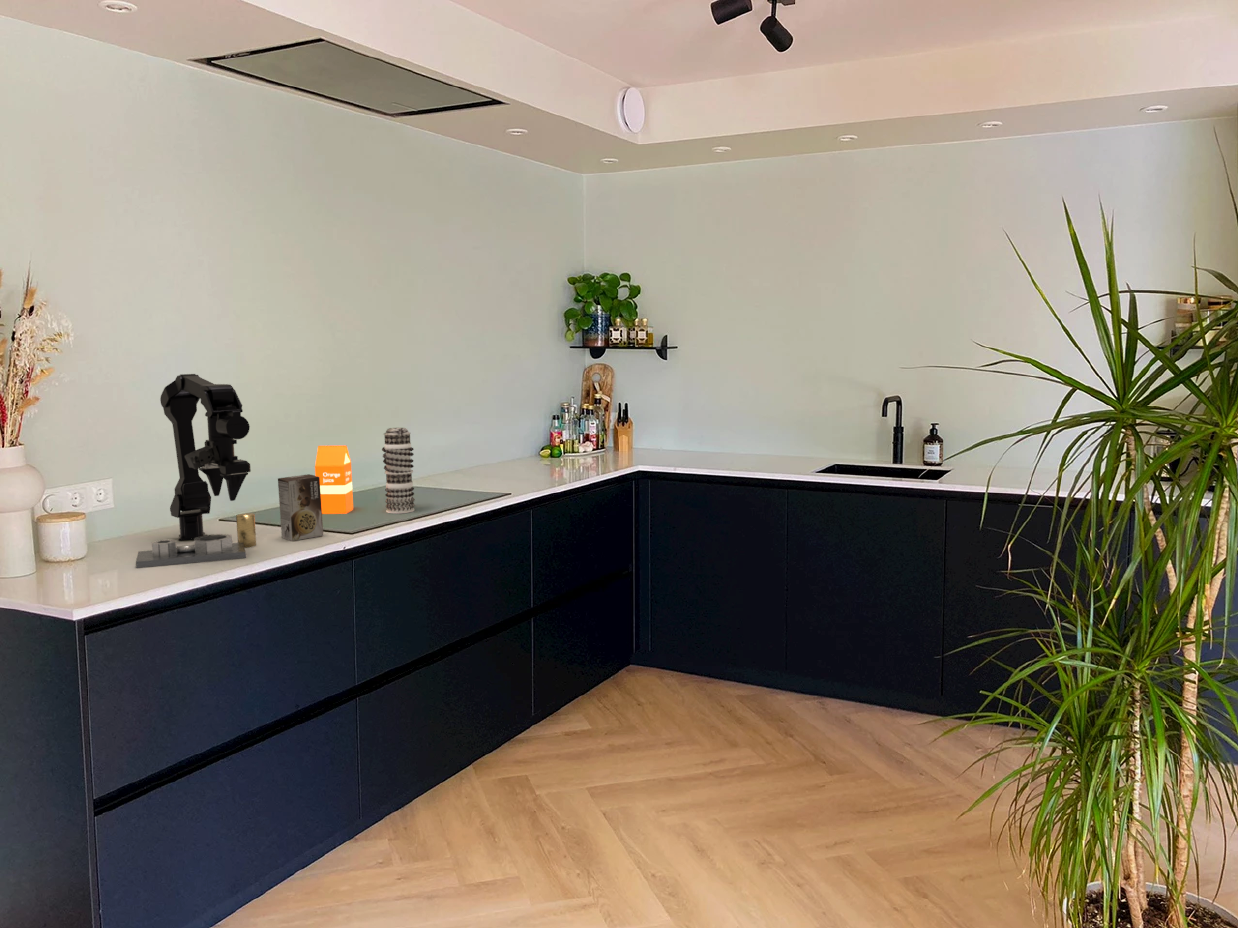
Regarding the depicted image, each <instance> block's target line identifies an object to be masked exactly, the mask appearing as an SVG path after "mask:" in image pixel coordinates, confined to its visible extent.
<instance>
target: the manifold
mask: <svg viewBox="0 0 1238 928" xmlns="http://www.w3.org/2000/svg"><path fill="white" fill-rule="evenodd" d="M246 555H247V553H246V547H244V543H243V542H242V543H238V542H233V537H232V534H226V533H225V534H224V533H216V534H214V533H213V534H205V535H204V536H200V537H196V538H195V539H194V544H189V545H187V544H186V545H178V546H177V541H176V539H169V538H167V539H160V540H158V539H157V540H154V541H152V542H151V550H139V551H138V552H137V555H136V560H135V565H136V566H135V567H136V569H140V568H152V567H162V566H173V565H174V566H176V565H184V564H185V565H186V564H197V563H206V562H217V561H226V560H239V559H247V556H246Z"/></svg>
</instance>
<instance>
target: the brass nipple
mask: <svg viewBox="0 0 1238 928" xmlns="http://www.w3.org/2000/svg"><path fill="white" fill-rule="evenodd" d="M235 518H236V535H237V543H242V542H243V543H244V547H245V548H252V547H256V546H257V536H256V535H257V533H256V532H257V531H256V516H255V513H252V512H247V513H246V512H245V513H240V514H236V516H235Z"/></svg>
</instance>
